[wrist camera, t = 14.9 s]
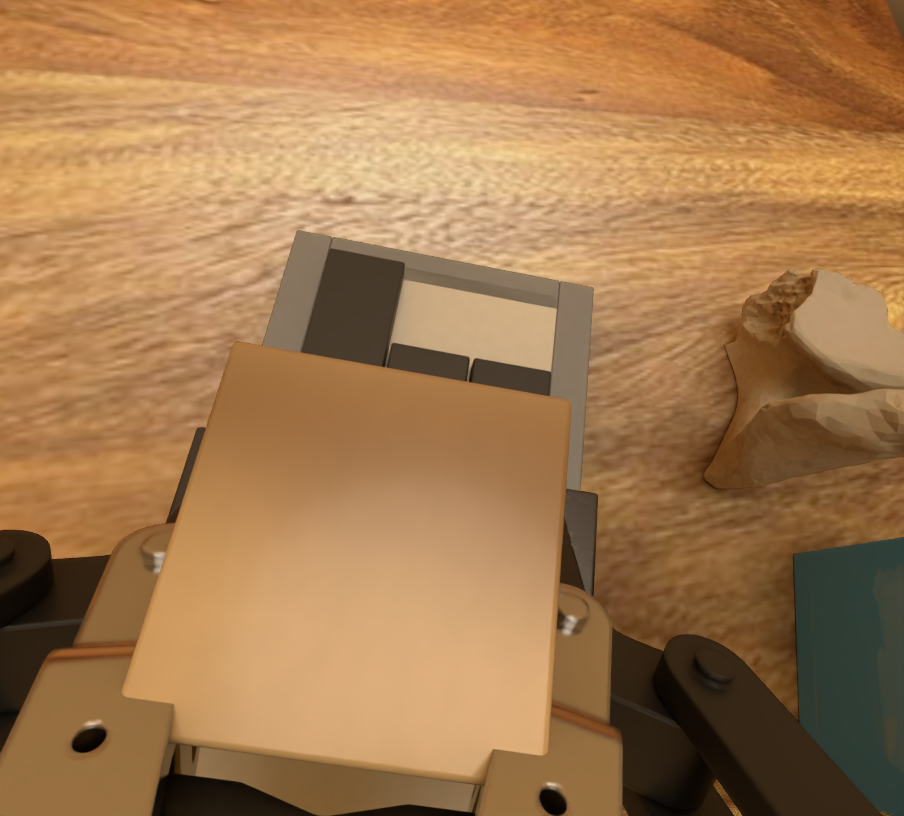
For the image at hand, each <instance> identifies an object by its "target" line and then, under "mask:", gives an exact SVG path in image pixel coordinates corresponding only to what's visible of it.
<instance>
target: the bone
mask: <svg viewBox="0 0 904 816" xmlns="http://www.w3.org/2000/svg"><path fill="white" fill-rule="evenodd" d="M741 315H742V324H741V326H740V327H739V328H738V333H737V337H736V340H735V341H734V342H732V343H730V344H727V345H725V347H726V350H727V353H728V356H729V359H730V362H731V365H732V367H733V369H734V373H735V377H736V382H737V387H738V403H737V407H736V412H735V414H734V417H733V419H732V421H731V423H730V426H729V428H728V430H727V432H726V433H725V435H724V437H723V440H722V442H721V444H720V446H719V449H718V451H717V453H716V455H715V457H714V459H713V461H712V463H711V464H710V465H709V466H708V468H707V469H706V470H705V472H704V476H703V477H704V479H705V480H706V481H707V482H709V483H710V484H711V485H713V486H714V487H715V488H718V489H728V488H752V487H762V486H765V485H768V484H771V483H774V482H778V481H781V480H785V479H788V478H792V477H797V476H803V475H808V474H813V473H817V472H820V471H824V470H829V469H835V468H841V467H847V466H853V465H859V464H865V463H870V462H872V461H874V460H879V459H888V458H897V457H904V333H902V332H900V331H898V330H896V329H894V328H893V327H891V326H890V324H889V321H888V318H887V316H888V309H887V306H886V303H885V301H884V299H883V297H882V295H881V293H880V292H879V291H877V290H875V289H873V288H871V287H870V286H867V285H863V284H861V283H860V284H857V285H855V284H854V282H853V280H852V279H848V278H846V277H845V276H843V275H842V274H841V273H836V272H831V271H828V270H824V269H818V268H815V269H813V270H812V272H811V274H810V275H806V274H801V272H800V270H794V269H789V270H788V271H787V272H785V273H784V274H783V275H782V276H780V277H779V278H778V279H777V280H775V281H773V282H772V283H771V284H770V285H769V287H768V290H767V291H765V292H763V293H760V294H755V295H751V296H750V297H749V298H748V299H746V301H745V303H744V305H743V308H742V313H741Z"/></svg>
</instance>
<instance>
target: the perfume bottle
mask: <svg viewBox="0 0 904 816" xmlns="http://www.w3.org/2000/svg"><path fill="white" fill-rule="evenodd" d="M794 576H795V605H796V634H797V663H798V692H799V721H800V724H801V725H802V727H803V728H804V729H805V730H806V731H807V732H808V733H809V734H810V735H811V737H812V738H813V739H814V740H815V741H816V742H817V743H818V744H819V745H820V747H821V748H822V749H823V750H824V751H825V752H826V753H827V754H828V755H829V757H830V758H831V759H832V760H833V761H834V762H835V763H836V764H837V765H838V767H839V768H840V769H841V770H842V771H843V772H844V773H845V774H846V775H847V777H848V778H849V779H850V780H851V781H852V782H853V783H854V784H855V785H856V787H857V788H858V789H859V790H860V791H861V792H862V793H863V794H864V795H865V797H866V798H867V799H868V800H869V801H870V802H871V803H872V804H873V805H874V807H875V808H876V809H877V810H880V811H882V812H885V813H888V814H890V815H893V816H904V537H902V538H895V539H889V540H882V541H876V542H869V543H863V544H857V545H850V546H844V547H837V548H831V549H824V550H818V551H811V552H805V553H798V554H794Z"/></svg>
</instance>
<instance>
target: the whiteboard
mask: <svg viewBox="0 0 904 816" xmlns="http://www.w3.org/2000/svg"><path fill="white" fill-rule="evenodd" d="M330 248H333V249H338V250H343V251H348V252H353V253H358V254H364V255H369V256H374V257H379V258H384V259H389V260H395V261H400V262H404V264H405V269H404V279H403V284H402V288H401V293H400V298H399V303H398V307H397V312H396V317H395V322H394V326H393V331H392V336H391V341H390V345H389V350H388V355H387V359H386V364H385V367H387V363H388V358H389V353H390V349H391V345H392V343H398V344H404V345H409V346H415V347H420V348H425V349H431V350H436V351H442V352H447V353H452V354H458V355H463V356H468V357H469V358H470V363H469V369H468V376H467V382H469V377H470V370H471V366H472V364H473V361H474V359H475V358H479V359H484V360H490V361H495V362H501V363H507V364H512V365H518V366H523V367H529V368H534V369H540V370H545V371H550V372H551V383H550V394H549V396H550V397H556V398H562V399H567V400H569V401H570V402H571V406H572V409H571V424H570V439H569V453H568V468H567V483H566V488H567V489H573V490H579V491H580V487H581V472H582V457H583V442H584V427H585V412H586V397H587V382H588V367H589V352H590V337H591V322H592V307H593V292H594V288H593V287H588V286H583V285H578V284H572V283H567V282H562V281H561V282H560V283H559V281H557V280H552V279H547V278H542V277H536V276H531V275H526V274H521V273H516V272H511V271H506V270H500V269H495V268H490V267H485V266H480V265H475V264H470V263H465V262H459V261H454V260H449V259H444V258H439V257H434V256H429V255H423V254H418V253H413V252H408V251H403V250H398V249H393V248H388V247H382V246H377V245H372V244H367V243H362V242H357V241H352V240H347V239H341V238H336V237H333V238H332V237H331V236H326V235H321V234H316V233H311V232H305V231H300V230H297V232H296V235H295V238H294V242H293V245H292V248H291V251H290V255H289V258H288V261H287V265H286V268H285V271H284V274H283V278H282V281H281V284H280V288H279V291H278V294H277V298H276V301H275V304H274V307H273V311H272V314H271V317H270V321H269V324H268V327H267V330H266V334H265V337H264V340H263V344H262V346H267V347H273V348H278V349H284V350H290V351H295V352H302V348H303V345H304V341H305V337H306V334H307V330H308V326H309V323H310V319H311V316H312V312H313V308H314V305H315V301H316V297H317V294H318V290H319V286H320V283H321V279H322V275H323V272H324V268H325V264H326V261H327V257H328V253H329V250H330ZM196 776H199V777H207V778H215V779H222V780H230V781H237V782H242V783H245V784H247V785H249V786H251V787H254V788H256V789H258V790H260V791H263V792H265V793H267V794H269V795H272V796H274V797H276V798H278V799H281V800H283V801H285V802H287V803H290V804H292V805H294V806H296V807H299V808H301V809H303V810H305V811H308V812H310V813H312V814H315V815H320V816H331V815H338V814H345V813H351V812H358V811H365V810H372V809H378V808H385V807H392V806H399V805H405V804H412V805H419V806H427V807H434V808H442V809H450V810H457V811H465V812H467V811H468V807H469V803H470V799H471V795H472V791H473V787H474V785H472V784H465V783H458V782H450V781H443V780H436V779H429V778H421V777H414V776H407V775H399V774H392V773H385V772H378V771H370V770H363V769H356V768H349V767H341V766H334V765H327V764H320V763H312V762H305V761H298V760H290V759H283V758H276V757H269V756H261V755H254V754H247V753H240V752H232V751H225V750H218V749H211V748H203V747H200V751H199V757H198V764H197V770H196Z"/></svg>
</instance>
